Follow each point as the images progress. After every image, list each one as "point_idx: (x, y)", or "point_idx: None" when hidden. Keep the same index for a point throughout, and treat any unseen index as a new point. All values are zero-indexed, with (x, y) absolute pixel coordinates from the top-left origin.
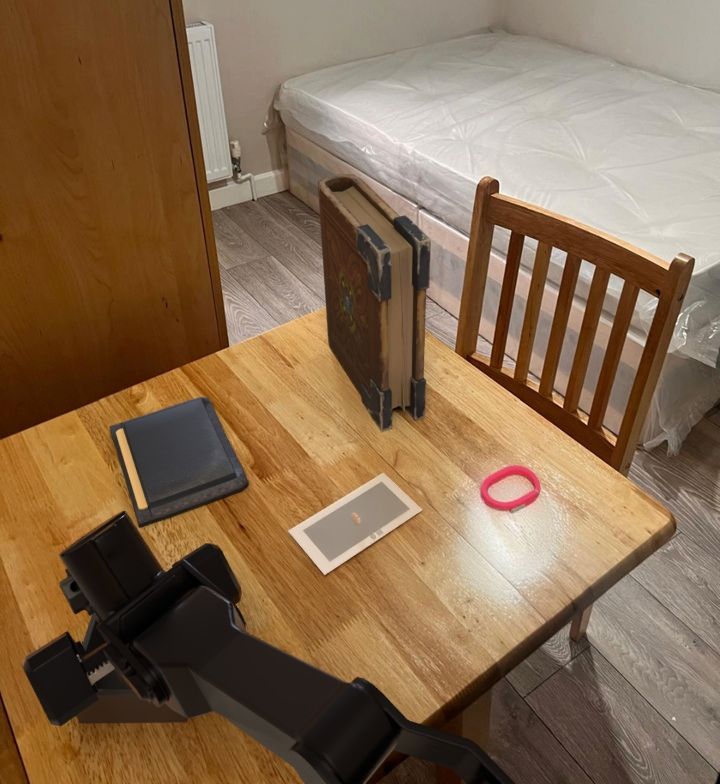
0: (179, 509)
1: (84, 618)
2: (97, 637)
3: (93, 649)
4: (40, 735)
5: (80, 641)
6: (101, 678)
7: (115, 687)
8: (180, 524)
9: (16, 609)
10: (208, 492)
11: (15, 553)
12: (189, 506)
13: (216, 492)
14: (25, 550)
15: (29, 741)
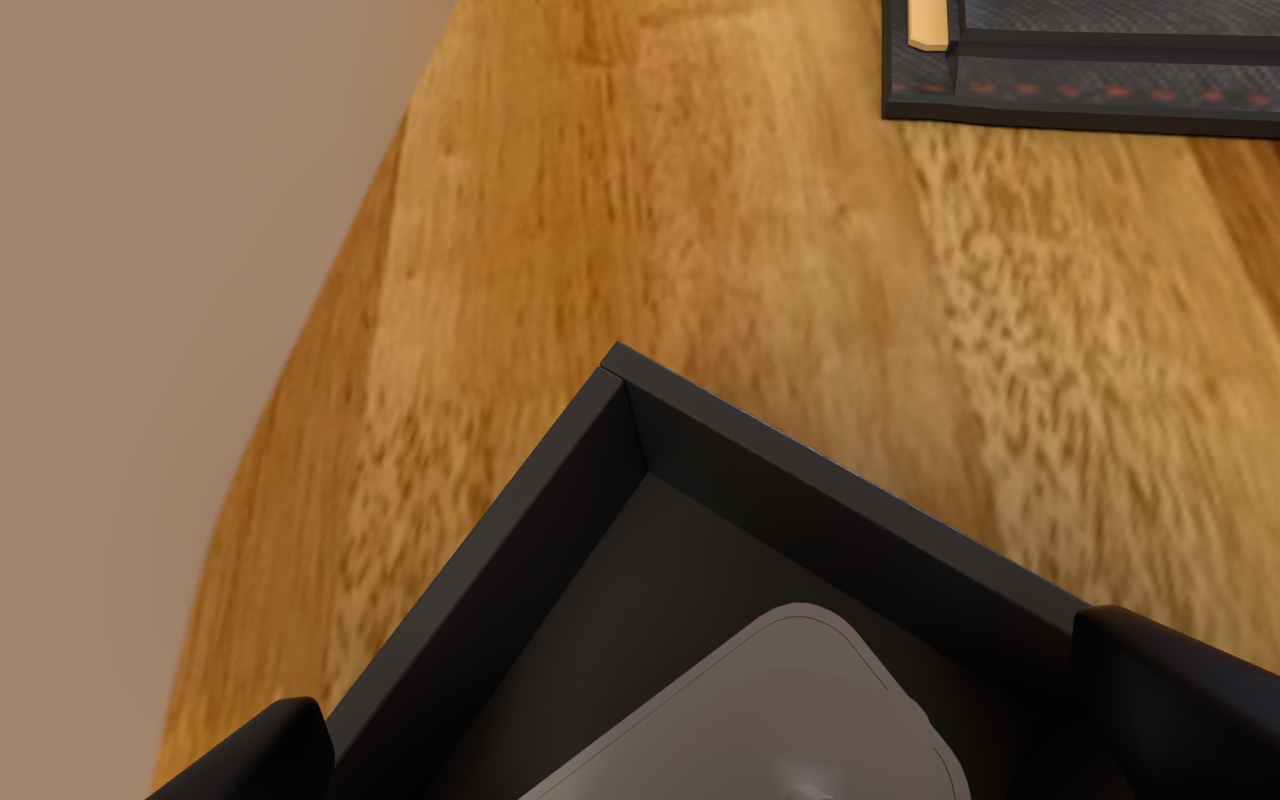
0: (1076, 107)
1: (563, 373)
2: (539, 553)
3: (494, 612)
4: None
5: (237, 789)
6: (513, 702)
7: None
8: (1052, 172)
9: (379, 220)
10: (1239, 83)
11: (460, 39)
12: (1124, 112)
13: (1276, 98)
14: (491, 41)
15: None
